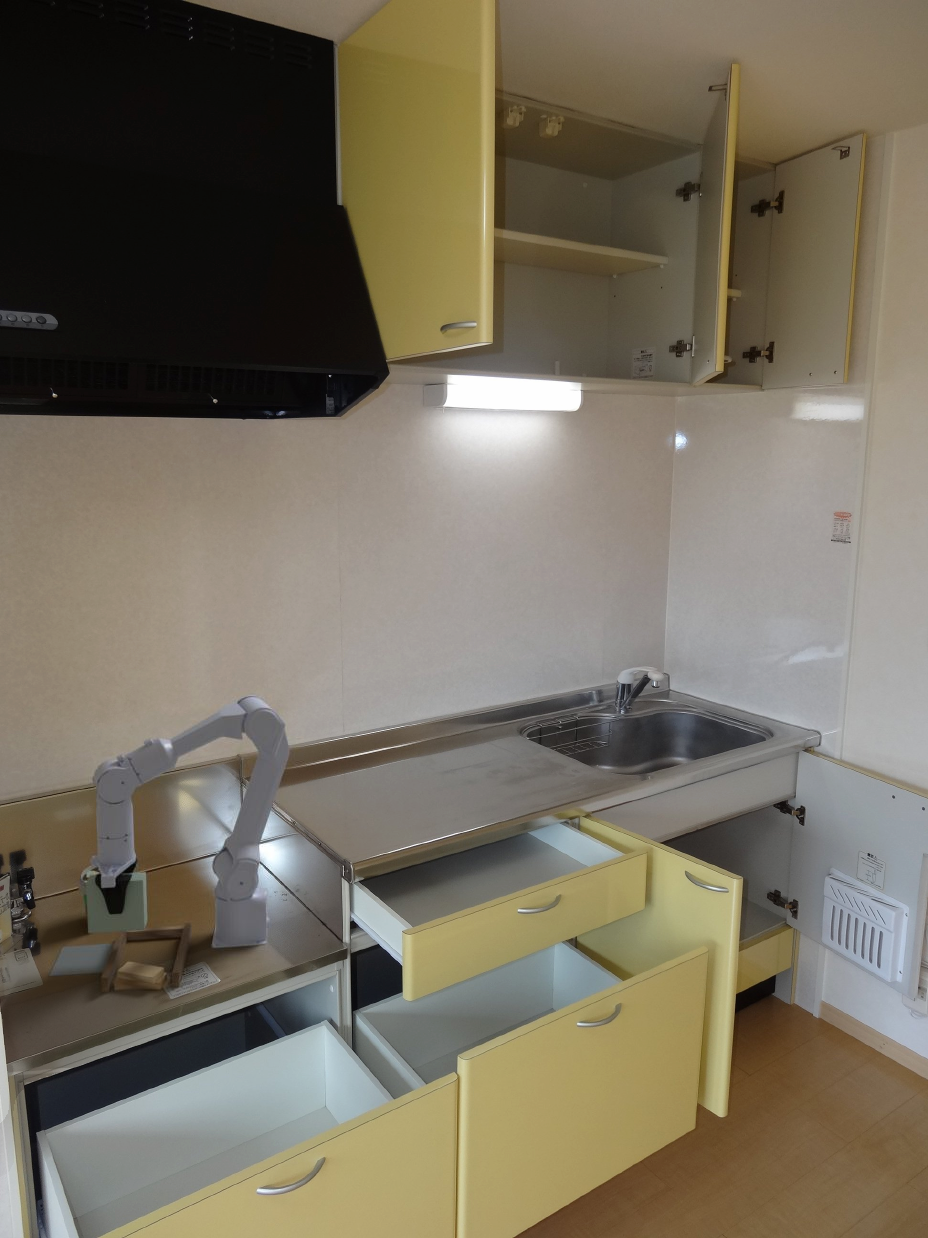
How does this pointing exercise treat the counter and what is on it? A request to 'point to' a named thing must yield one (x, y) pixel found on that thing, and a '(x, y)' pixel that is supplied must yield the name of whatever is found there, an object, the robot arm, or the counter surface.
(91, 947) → the slate mat
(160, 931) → the walnut rack
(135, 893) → the sage panel
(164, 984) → the offcut bottom
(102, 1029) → the counter surface
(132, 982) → the offcut middle
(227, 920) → the robot arm
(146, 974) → the offcut top
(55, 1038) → the counter surface
